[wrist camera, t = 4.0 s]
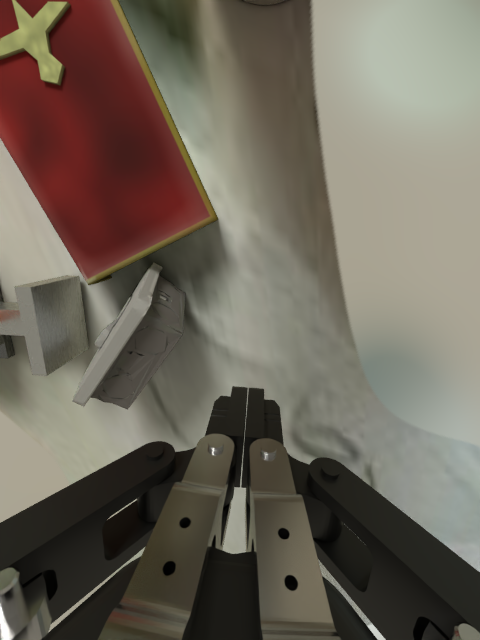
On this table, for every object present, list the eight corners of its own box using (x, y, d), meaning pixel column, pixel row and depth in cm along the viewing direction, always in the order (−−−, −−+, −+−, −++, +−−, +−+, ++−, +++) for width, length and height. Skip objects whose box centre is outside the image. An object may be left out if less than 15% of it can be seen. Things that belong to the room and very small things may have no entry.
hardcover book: (109, 279, 27) (81, 287, 23) (-36, 27, 22) (-104, -19, 18) (224, 221, 24) (217, 219, 20) (90, -76, 19) (45, -156, 15)
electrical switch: (155, 259, 25) (110, 283, 17) (204, 293, 26) (185, 332, 18) (106, 337, 28) (45, 392, 19) (152, 365, 29) (113, 430, 20)
